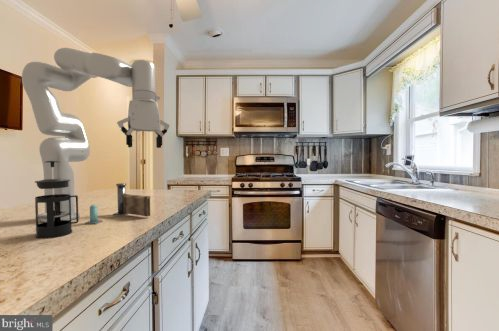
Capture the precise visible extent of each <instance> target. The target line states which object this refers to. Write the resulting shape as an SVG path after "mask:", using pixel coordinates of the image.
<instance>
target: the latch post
mask: <svg viewBox="0 0 499 331" xmlns="http://www.w3.org/2000/svg"><path fill="white" fill-rule="evenodd" d="M98 214H99V213H98V206H97V204H91V205H90V206H89V220H88V221H87V222H84V225H97V224H100V223H103V220H101V219H100V220H99V218H98Z"/></svg>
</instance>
